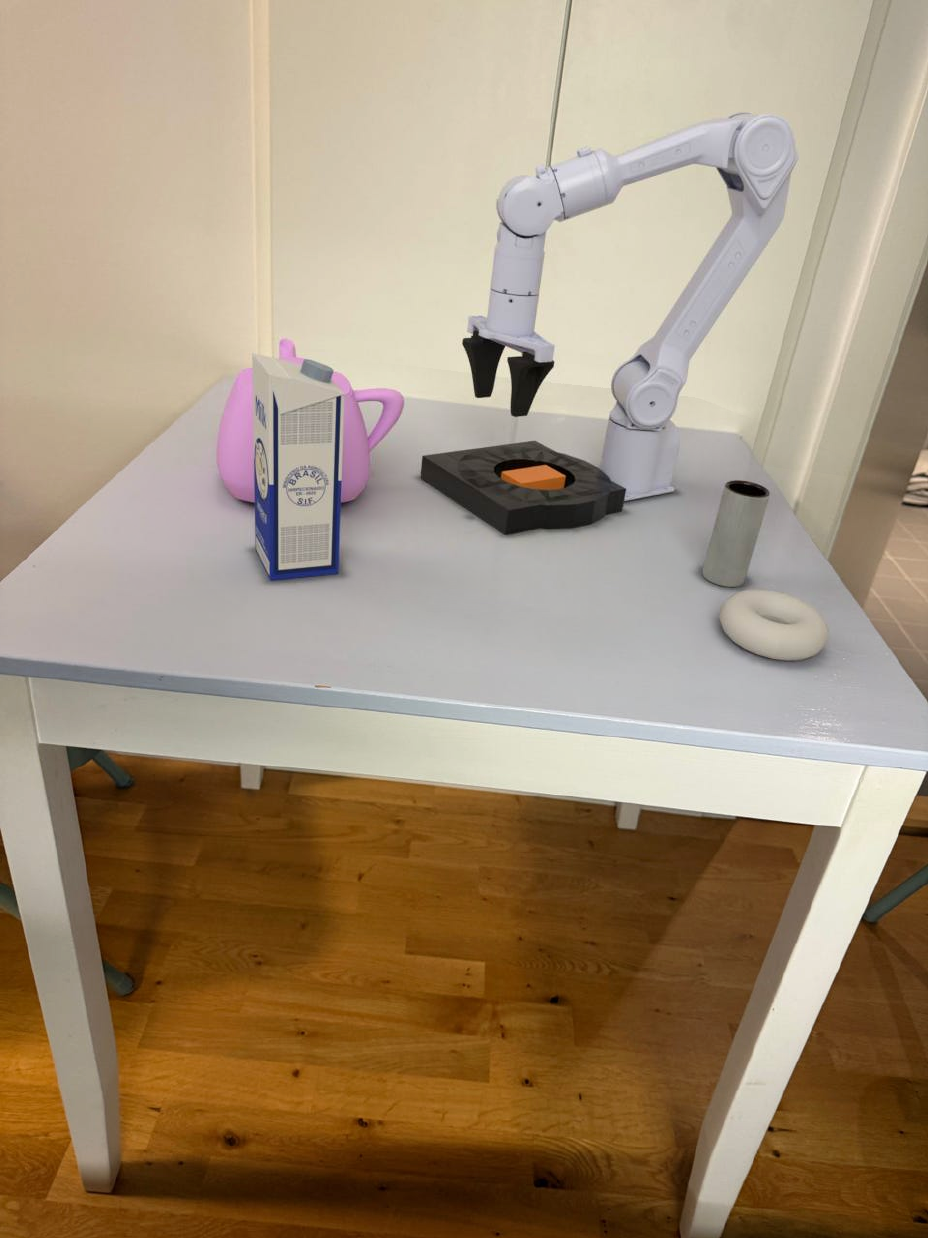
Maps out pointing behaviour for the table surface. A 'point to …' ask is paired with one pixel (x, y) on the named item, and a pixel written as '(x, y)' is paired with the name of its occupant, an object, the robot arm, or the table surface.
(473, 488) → the square plate with hole
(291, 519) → the milk carton
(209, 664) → the table surface
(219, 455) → the teapot
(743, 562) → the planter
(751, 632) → the donut
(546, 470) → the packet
